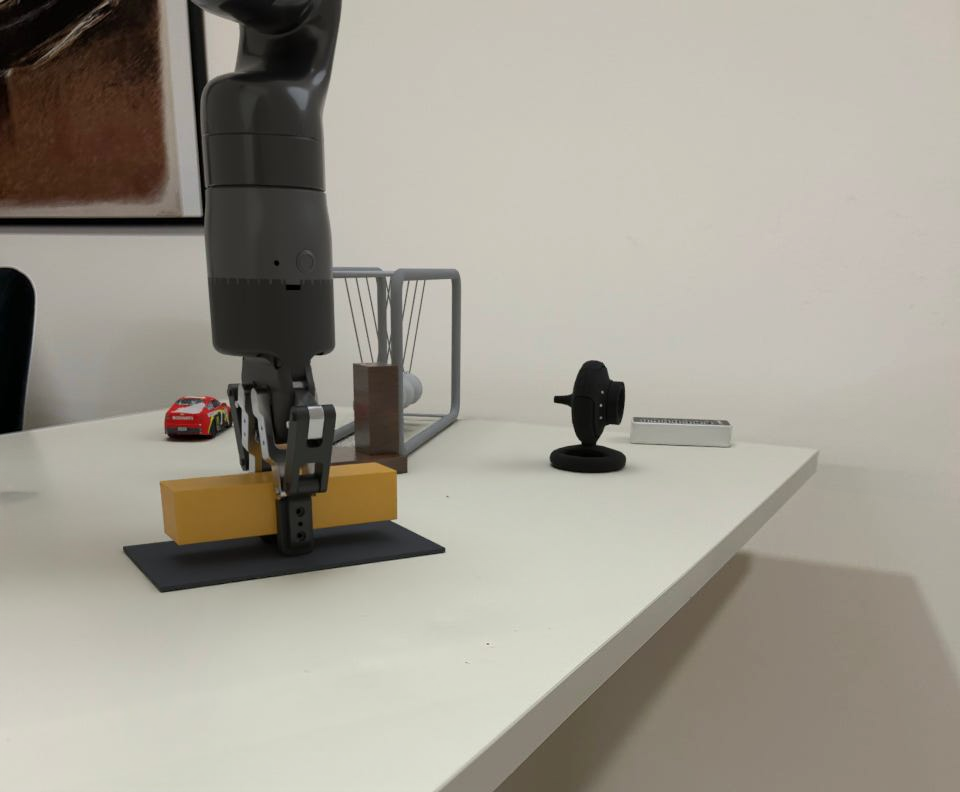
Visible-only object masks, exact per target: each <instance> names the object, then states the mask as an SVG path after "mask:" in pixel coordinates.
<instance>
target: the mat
mask: <svg viewBox="0 0 960 792" xmlns="http://www.w3.org/2000/svg"><path fill="white" fill-rule="evenodd" d="M313 542H314V548H313V550H312V552H311V553H309V554H305V555H298V556H290V557H287V556H285V555H283V554H282V553H280V552H279V550H278V541H272V542H265V541H263V540H262V539H260V538H259V536H254V537H245V538H237V539H229V540H220V541H212V542H203V543H195V544H187V545H178V544H177V543H176V542H174V541H173V540H166V541H158V542H157V541H156V542H149V543H141V544H131V545H124V546H122V551H123V552H124V553H125V554H126V555H127V556H128V558H129V559H130V560H131V561H132V562H133V563H134V564H135V566H137V568H139V570H140V571H141V572H142V573H143V574H144V575H145V576H146V577H147V578H148V579H149V581H150V580H151V581H150V582H151V583H152V584H153V585H154V586H155V587H156V588H157V590H158V591H159V592H160V591H161V592H160V593H163V592H169V591H170V590H171V591H176V590H175V589H178V590H184V588H185V589H192V588H197V587H205V586H212V585H213V586H214V585H219V584H226V583H227V584H228V583H233V582H232V581H234V582H239V581H238V580H242V581H247V580H246V579H249V580H252V579H251V578H256V579H259V578H258V577H263V578H268V577H267V576H270V577H274V576H273V575H277V576H282V574H284V575H291V574H297V572H298V573H305V572H311V571H318V570H327V569H333V568H340V567H347V566H355V565H362V564H368V563H374V562H376V563H377V562H382V561H383V562H384V561H390V560H398V559H404V558H411V557H419V556H424V555H433V554H439V553H446V547H445V546H443V545H441V544H439V543H437V542H435V541H432V540H431V539H429V538H426V537H425V536H422V535H420V534H418V533H417V532H415V531H413V530H410V528H409V529H408V528H407V527H404V526H403V525H401V524H400V523H399V524H398V523H397V522H394V520H388V521H379V522H371V523H362V524H354V525H346V526H337V527H329V528H321V529H313ZM287 573H288V574H287ZM290 573H291V574H290ZM181 588H182V589H181ZM162 591H163V592H162Z"/></svg>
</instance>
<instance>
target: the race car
mask: <svg viewBox="0 0 960 792" xmlns="http://www.w3.org/2000/svg"><path fill="white" fill-rule="evenodd" d="M163 422H164V423H163V427H164V434H165V435H167V436H168V437H170V438H177V437H178V435H202V436H203V435H205V437H206V438H215V437H216V435H217V433H218V432H219V431H220V430H223V429H224V428H230V427H232V426H233V420H232V414H231V409H230V405H228V404H227V402H224V401H223V402H221V401H219V400H218V399H216V398H215V397H214V396H213V397H212V396H206V395H187V396H182V397H180V398H178V399H177V400H175V402H174V403H173V404H172V405H171V406H170V407H169V409H168V410H167V411H166V412H165V416H164V421H163Z"/></svg>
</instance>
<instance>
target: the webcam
mask: <svg viewBox="0 0 960 792" xmlns="http://www.w3.org/2000/svg"><path fill="white" fill-rule="evenodd" d="M553 403H554V404H560V405H565V406H568V407H569V408H571V409H570V413H571V423H572V427H573V430H574V433H575V436H576V438H577V439H578V441H579V442H580V443H579V444H578V443H577V444H572V445H571V444H570V445H566V446H561V447H558V448H556V449H554V450H552V451H551V452H550V454H549V462H550V463H551V465H552V466H554V467H555V468H558V469H562V470H567V471H574V472H583V473H584V472H585V473H601V472H602V473H603V472H613V471H620V470H622V469H623V468H624V467H625V466H626V463H627V457H626V454H625V453H623V452H622V451H620V450H617V449H614V448H611V447H607V446H605V445H600V444H597V443H598V441H599V440H600V438H601V437H602V434H603V433H604V431H605V428H606V427H607V426H609V425H611V426H612V425H613V426H620V425H621V424H622V422H623V417H624V413H625V405H626V385H625V382H624V381H618V380H613V379H611V378H610V375H609V371H608V367H607V366H606V365H605V363H604V362H603V361H599V360H596V359H590V360H587V361H585V362H584V363H582V365H581V367H580V368H579V370H578V371H577V375H576V377H575V380H574V383H573V386H572V393H570V394H565V395H563V394H562V395H554V396H553Z"/></svg>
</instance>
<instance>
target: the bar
mask: <svg viewBox="0 0 960 792" xmlns="http://www.w3.org/2000/svg"><path fill="white" fill-rule="evenodd" d="M299 475H302V471H301V469H300V472H299ZM159 488H160V498H161V510H162V520H163V529H164V534H165V535H167V537H169V538H170V539H171V541H174V542H176V543H177V544H178V545H187V544H195V543H203V542H212V541H220V540H229V539H237V538H245V537H254V536H262V535H270V534H277V520H276V502H275V499H277V498H276V496H275V493H274V483H273V475H272V471H269V472H258V473H249V472H247V473H238V474H237V473H235V474H225V475H214V476H213V475H211V476H202V477H190V478H189V477H188V478H177V479H170V480H169V479H168V480H160V481H159ZM311 498H312V519H313V529H321V528H329V527H337V526H346V525H354V524H362V523H371V522H379V521H388V520H391V521H394V520H395V521H396V520H398V473H397V471H396V470H393V469H391V468H388V467H386V466H383V465H381V464H378V463H376V462H372V463H361V464H349V465H338V466H330V471H329V479H328V487H327V491H326V492H325V493H317V494H316V496H315V497H311Z"/></svg>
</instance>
